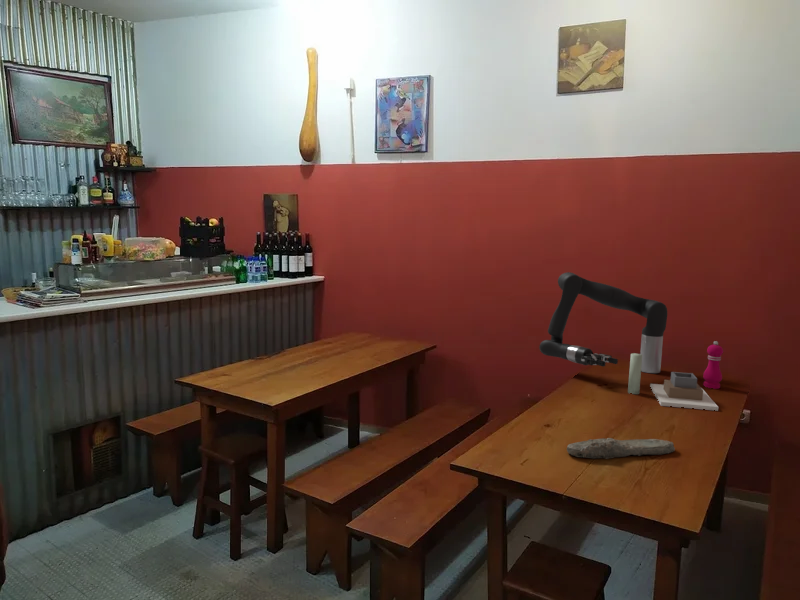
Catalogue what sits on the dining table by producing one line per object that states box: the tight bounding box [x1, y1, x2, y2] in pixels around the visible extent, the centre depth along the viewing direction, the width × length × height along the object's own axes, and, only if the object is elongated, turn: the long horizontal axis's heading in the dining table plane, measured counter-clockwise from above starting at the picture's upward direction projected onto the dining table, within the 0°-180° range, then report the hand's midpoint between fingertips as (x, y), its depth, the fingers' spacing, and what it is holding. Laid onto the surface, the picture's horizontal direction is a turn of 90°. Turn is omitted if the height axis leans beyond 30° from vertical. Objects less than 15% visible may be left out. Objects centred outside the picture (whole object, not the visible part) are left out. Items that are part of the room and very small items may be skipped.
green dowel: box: [627, 352, 642, 395], centre depth 245 cm, size 4×4×16 cm
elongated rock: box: [566, 437, 676, 460], centre depth 183 cm, size 35×5×10 cm
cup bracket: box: [649, 371, 719, 412], centre depth 239 cm, size 26×20×10 cm
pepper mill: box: [702, 340, 724, 390], centre depth 255 cm, size 7×7×20 cm
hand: (611, 362), depth 253 cm, fingers open, 8 cm apart
